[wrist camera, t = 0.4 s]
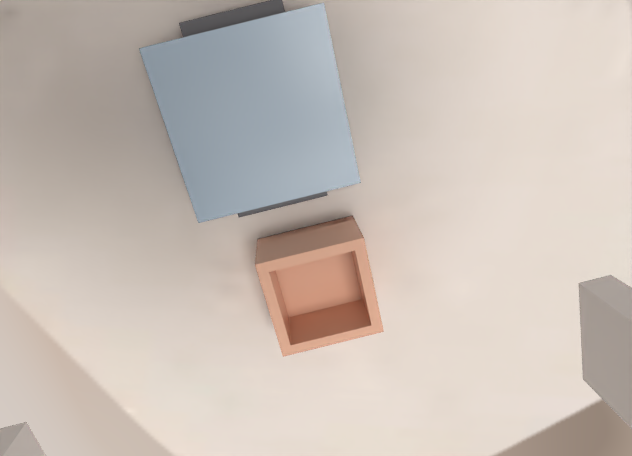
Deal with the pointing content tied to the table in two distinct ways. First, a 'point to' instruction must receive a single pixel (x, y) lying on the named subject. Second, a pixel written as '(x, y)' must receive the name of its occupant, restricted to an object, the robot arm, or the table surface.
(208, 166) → the blue square slab
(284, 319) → the open box
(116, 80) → the table surface
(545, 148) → the table surface
